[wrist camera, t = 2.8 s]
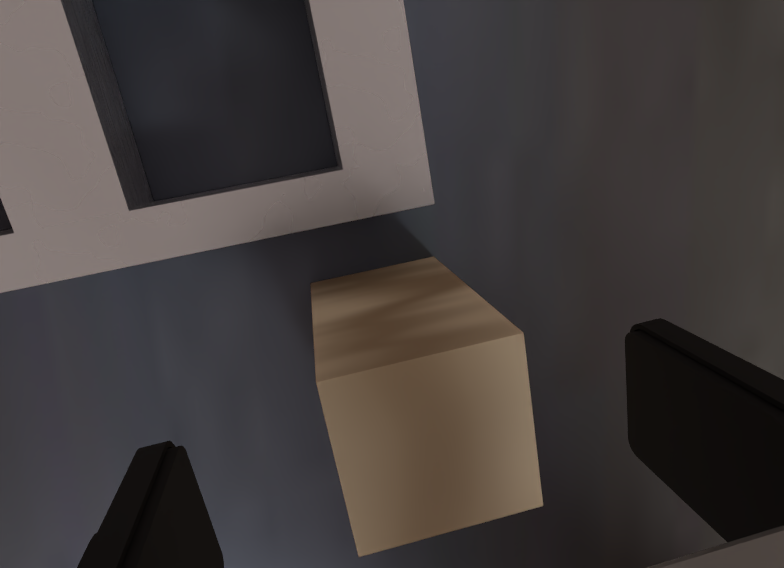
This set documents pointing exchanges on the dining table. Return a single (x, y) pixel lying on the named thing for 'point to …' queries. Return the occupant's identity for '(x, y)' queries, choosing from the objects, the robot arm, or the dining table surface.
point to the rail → (201, 210)
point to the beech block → (422, 403)
